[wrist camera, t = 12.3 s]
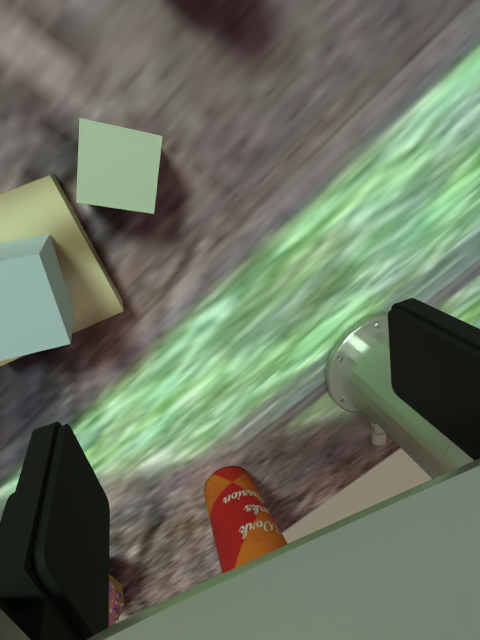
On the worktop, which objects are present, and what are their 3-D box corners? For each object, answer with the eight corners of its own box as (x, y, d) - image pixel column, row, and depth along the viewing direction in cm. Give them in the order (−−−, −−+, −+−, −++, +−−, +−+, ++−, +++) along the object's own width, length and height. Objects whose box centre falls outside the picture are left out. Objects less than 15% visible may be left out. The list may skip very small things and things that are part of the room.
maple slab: (122, 298, 34) (124, 310, 32) (-1, 352, 33) (-10, 370, 30) (54, 172, 29) (49, 175, 27) (-96, 231, 28) (-116, 239, 25)
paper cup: (269, 472, 48) (328, 583, 36) (228, 517, 49) (272, 640, 36) (224, 448, 44) (272, 562, 32) (180, 496, 45) (211, 627, 33)
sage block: (146, 204, 32) (154, 213, 27) (79, 194, 30) (76, 202, 26) (153, 137, 30) (162, 136, 26) (82, 122, 28) (79, 118, 24)
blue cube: (74, 310, 31) (70, 343, 25) (-10, 329, 29) (-33, 369, 24) (49, 234, 28) (39, 253, 23) (-45, 250, 26) (-79, 276, 21)
